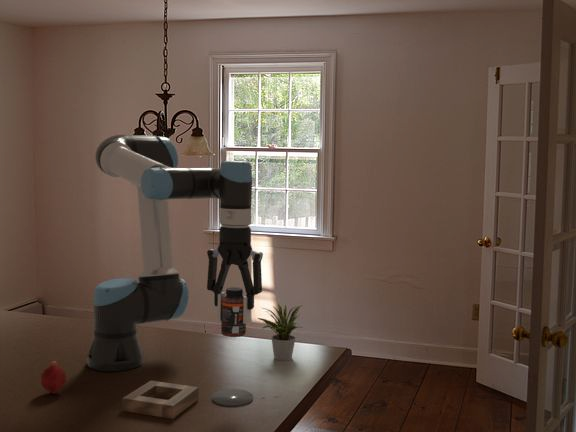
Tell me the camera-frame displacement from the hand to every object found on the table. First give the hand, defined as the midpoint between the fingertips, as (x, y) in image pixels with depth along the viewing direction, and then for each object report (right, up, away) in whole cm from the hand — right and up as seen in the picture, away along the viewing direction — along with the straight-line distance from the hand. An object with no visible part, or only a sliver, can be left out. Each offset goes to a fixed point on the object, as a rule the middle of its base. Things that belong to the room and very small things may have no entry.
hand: (233, 320), depth 164 cm
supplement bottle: (0, -4, 0) cm, 4 cm away
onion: (-44, -18, +3) cm, 48 cm away
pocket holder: (-17, -19, -3) cm, 26 cm away
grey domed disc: (0, -19, +2) cm, 19 cm away
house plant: (+12, -16, +37) cm, 42 cm away
